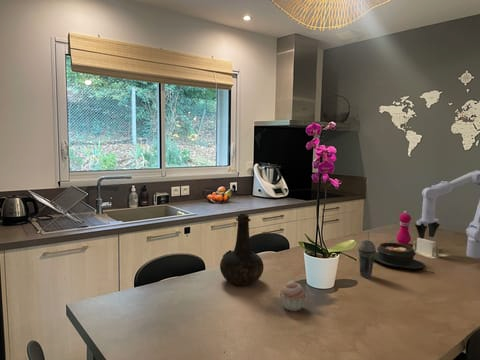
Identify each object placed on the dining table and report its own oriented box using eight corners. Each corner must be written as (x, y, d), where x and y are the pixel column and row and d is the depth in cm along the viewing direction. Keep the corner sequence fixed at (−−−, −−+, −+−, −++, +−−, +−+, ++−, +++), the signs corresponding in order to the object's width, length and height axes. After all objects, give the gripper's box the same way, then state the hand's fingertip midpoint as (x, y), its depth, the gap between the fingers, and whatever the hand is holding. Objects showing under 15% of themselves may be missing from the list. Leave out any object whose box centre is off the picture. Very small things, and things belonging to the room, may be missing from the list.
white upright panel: (418, 250, 193) (419, 237, 193) (434, 255, 185) (435, 242, 185) (416, 251, 193) (417, 238, 192) (431, 256, 185) (432, 242, 184)
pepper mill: (411, 248, 200) (414, 212, 198) (397, 247, 202) (400, 211, 200) (408, 244, 208) (410, 210, 205) (394, 243, 209) (397, 209, 207)
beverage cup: (355, 277, 158) (357, 231, 155) (358, 271, 164) (360, 227, 162) (373, 280, 154) (376, 233, 152) (375, 274, 161) (378, 230, 158)
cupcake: (311, 310, 126) (313, 282, 125) (290, 316, 122) (291, 287, 121) (294, 299, 134) (295, 273, 133) (273, 304, 130) (274, 277, 129)
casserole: (361, 261, 178) (362, 244, 177) (378, 253, 191) (379, 237, 190) (415, 276, 160) (416, 257, 159) (429, 266, 173) (431, 248, 172)
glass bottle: (234, 270, 163) (235, 208, 159) (270, 279, 153) (272, 213, 150) (210, 284, 147) (211, 215, 144) (249, 294, 138) (251, 221, 135)
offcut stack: (432, 249, 196) (432, 245, 196) (442, 252, 191) (443, 248, 190) (426, 250, 194) (427, 246, 194) (437, 253, 189) (437, 249, 188)
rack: (426, 249, 200) (427, 238, 199) (451, 256, 188) (452, 245, 187) (407, 252, 193) (408, 241, 193) (431, 260, 181) (432, 248, 180)
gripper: (430, 209, 193) (428, 234, 195) (411, 210, 187) (409, 237, 188) (443, 211, 187) (441, 237, 189) (424, 213, 181) (422, 240, 182)
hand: (426, 237), depth 188 cm, fingers open, 7 cm apart
